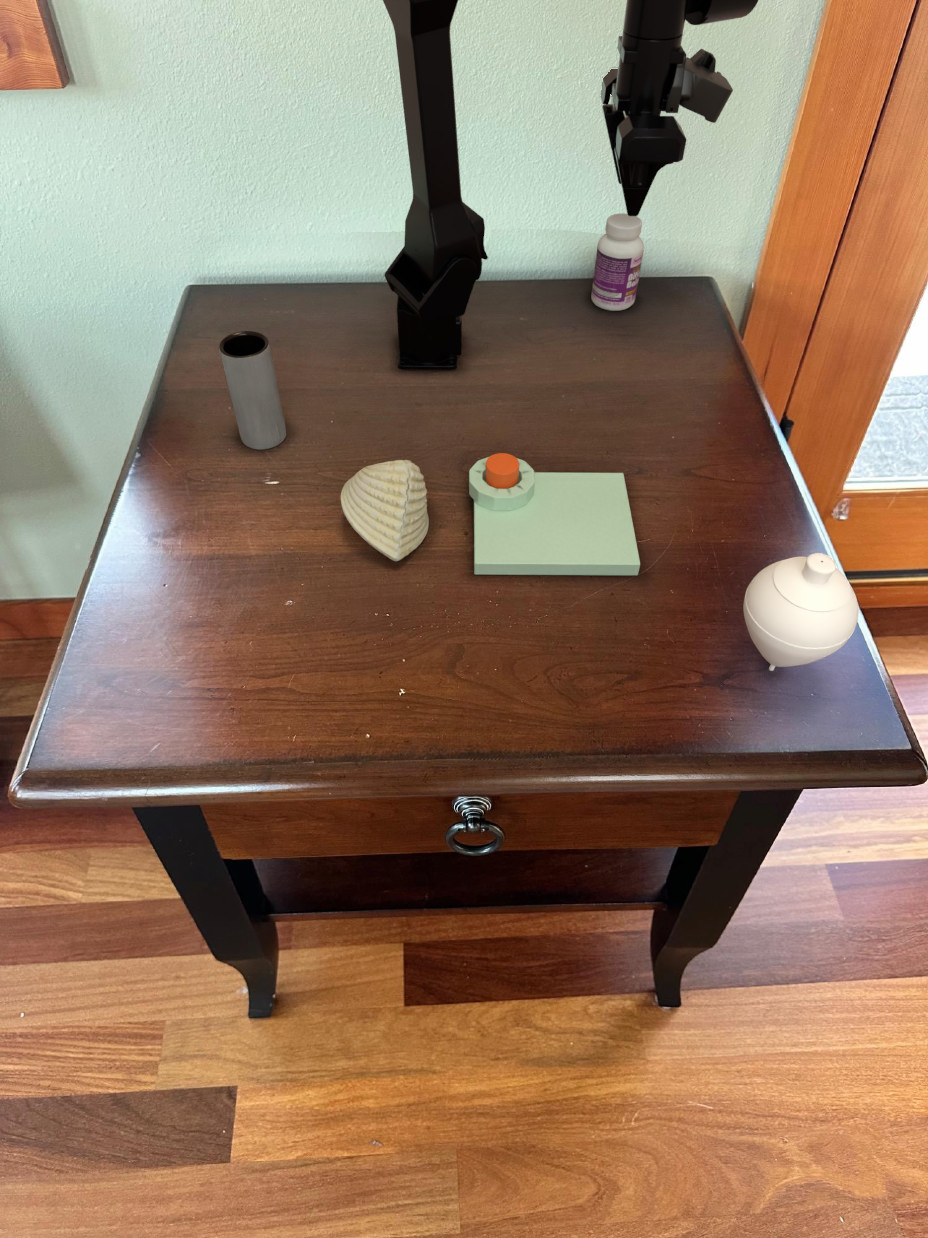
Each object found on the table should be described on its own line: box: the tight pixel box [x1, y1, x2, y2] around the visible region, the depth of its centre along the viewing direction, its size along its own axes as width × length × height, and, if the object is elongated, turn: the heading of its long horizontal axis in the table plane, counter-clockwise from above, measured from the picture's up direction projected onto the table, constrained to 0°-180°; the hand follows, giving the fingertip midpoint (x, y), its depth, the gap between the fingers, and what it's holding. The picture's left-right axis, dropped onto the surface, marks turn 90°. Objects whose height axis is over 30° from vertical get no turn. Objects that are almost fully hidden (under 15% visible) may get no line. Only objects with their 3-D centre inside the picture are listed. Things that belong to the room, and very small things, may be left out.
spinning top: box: [742, 552, 860, 672], centre depth 60 cm, size 8×8×12 cm
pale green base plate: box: [468, 456, 641, 576], centre depth 74 cm, size 14×12×3 cm
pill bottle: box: [590, 213, 645, 312], centre depth 98 cm, size 5×5×10 cm
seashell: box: [340, 459, 430, 562], centre depth 73 cm, size 8×8×8 cm
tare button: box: [485, 452, 519, 489], centre depth 75 cm, size 3×3×2 cm
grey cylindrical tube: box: [218, 330, 287, 450], centre depth 80 cm, size 4×4×10 cm
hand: (627, 198), depth 92 cm, fingers open, 8 cm apart
